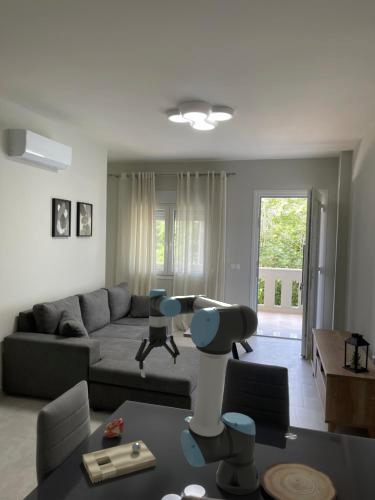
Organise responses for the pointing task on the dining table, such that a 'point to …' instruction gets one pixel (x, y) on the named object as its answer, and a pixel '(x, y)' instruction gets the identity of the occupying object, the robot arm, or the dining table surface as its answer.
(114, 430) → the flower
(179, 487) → the dining table surface
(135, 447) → the ball
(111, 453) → the wooden board with hole
